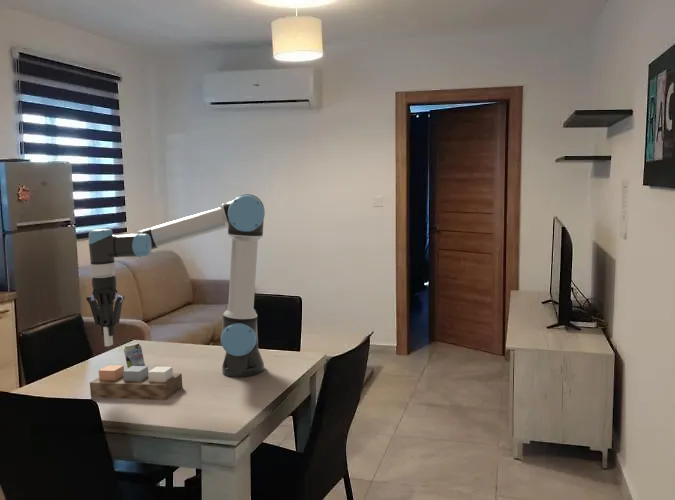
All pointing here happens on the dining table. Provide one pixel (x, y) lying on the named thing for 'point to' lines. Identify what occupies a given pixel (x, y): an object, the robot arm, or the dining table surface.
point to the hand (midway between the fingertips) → (108, 345)
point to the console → (136, 388)
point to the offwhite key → (160, 374)
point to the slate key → (135, 373)
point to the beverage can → (134, 355)
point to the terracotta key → (111, 372)
